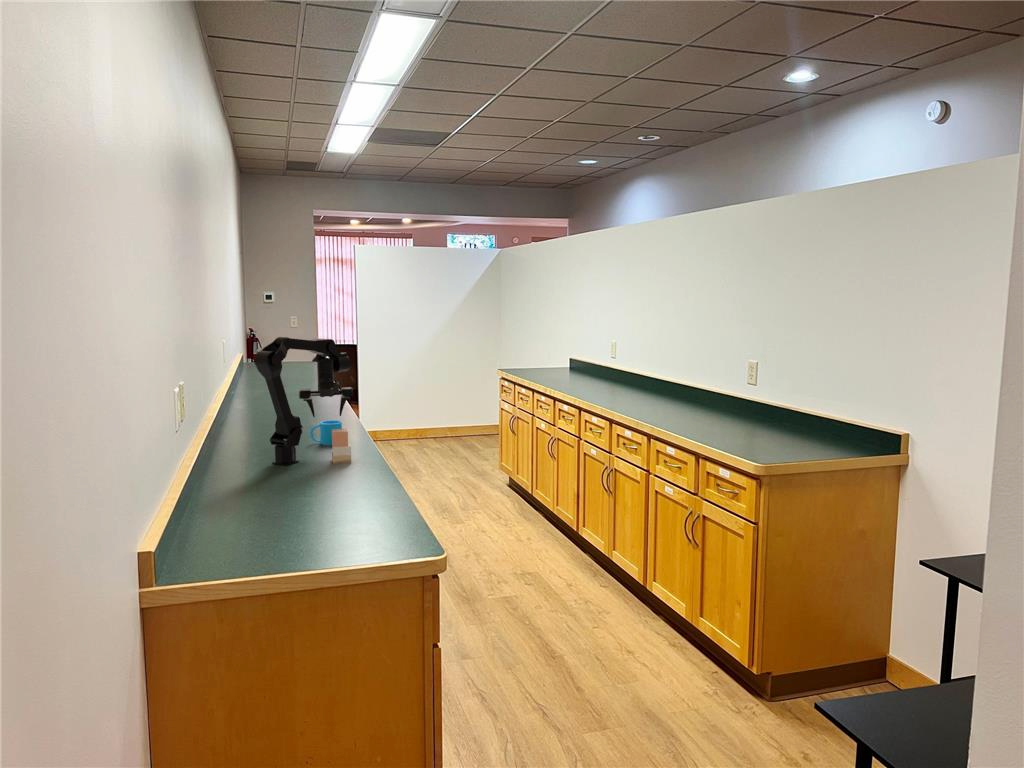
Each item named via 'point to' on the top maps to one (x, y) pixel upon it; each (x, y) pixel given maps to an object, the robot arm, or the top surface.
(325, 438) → the mug
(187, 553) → the top surface
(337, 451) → the slab upper
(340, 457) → the slab lower
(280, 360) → the robot arm
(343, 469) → the top surface
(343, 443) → the coral cube
